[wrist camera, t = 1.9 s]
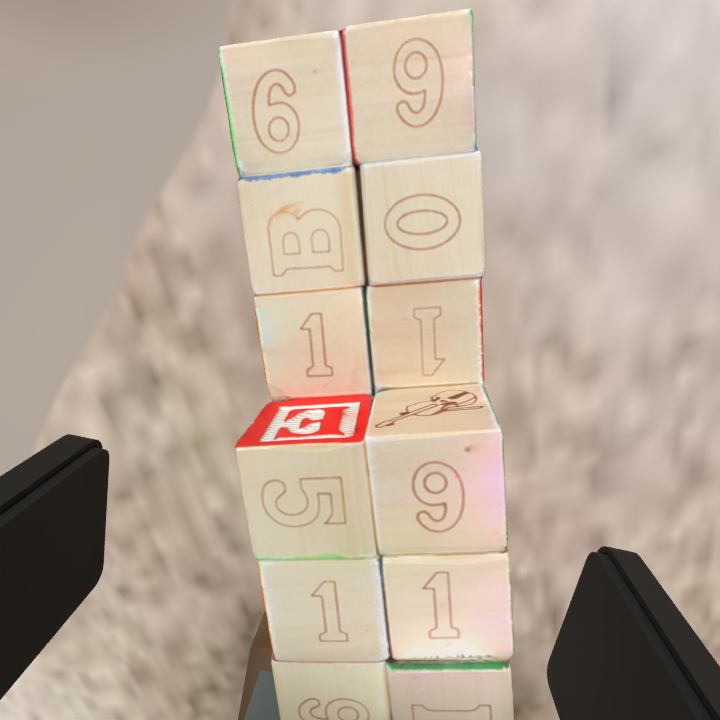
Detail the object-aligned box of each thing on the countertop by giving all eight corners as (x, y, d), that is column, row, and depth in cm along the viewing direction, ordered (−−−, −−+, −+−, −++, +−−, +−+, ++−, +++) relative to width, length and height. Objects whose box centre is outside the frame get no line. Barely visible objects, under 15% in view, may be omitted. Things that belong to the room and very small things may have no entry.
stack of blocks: (299, 119, 21) (150, -25, 9) (451, 101, 20) (508, -81, 8) (346, 563, 26) (292, 842, 14) (468, 562, 25) (518, 855, 13)
